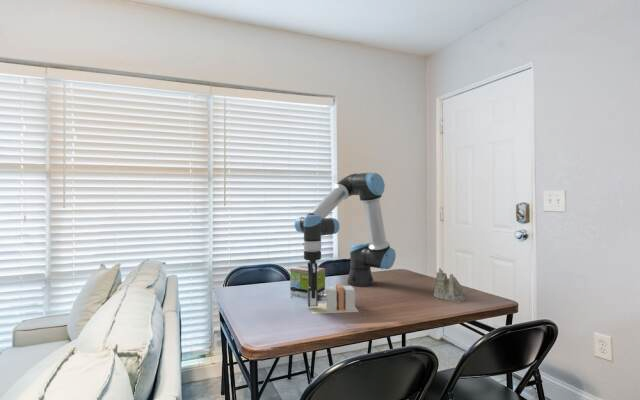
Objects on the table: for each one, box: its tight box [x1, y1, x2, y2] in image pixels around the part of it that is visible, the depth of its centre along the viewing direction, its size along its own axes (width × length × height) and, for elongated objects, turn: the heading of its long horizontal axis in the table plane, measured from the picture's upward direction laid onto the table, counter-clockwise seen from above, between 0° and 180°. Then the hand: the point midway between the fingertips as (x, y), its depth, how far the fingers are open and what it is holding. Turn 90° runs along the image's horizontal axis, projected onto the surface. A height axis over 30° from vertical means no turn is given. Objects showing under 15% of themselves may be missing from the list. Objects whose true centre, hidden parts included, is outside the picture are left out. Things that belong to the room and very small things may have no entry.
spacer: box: [335, 283, 344, 310], centre depth 157 cm, size 2×8×10 cm, turn 7°
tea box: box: [289, 265, 326, 298], centre depth 178 cm, size 15×10×15 cm, turn 62°
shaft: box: [307, 288, 345, 308], centre depth 156 cm, size 18×4×7 cm, turn 97°
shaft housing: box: [309, 285, 359, 315], centre depth 156 cm, size 20×14×10 cm
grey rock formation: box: [433, 267, 465, 302], centre depth 179 cm, size 16×16×15 cm
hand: (312, 303), depth 155 cm, fingers closed on shaft, 4 cm apart
